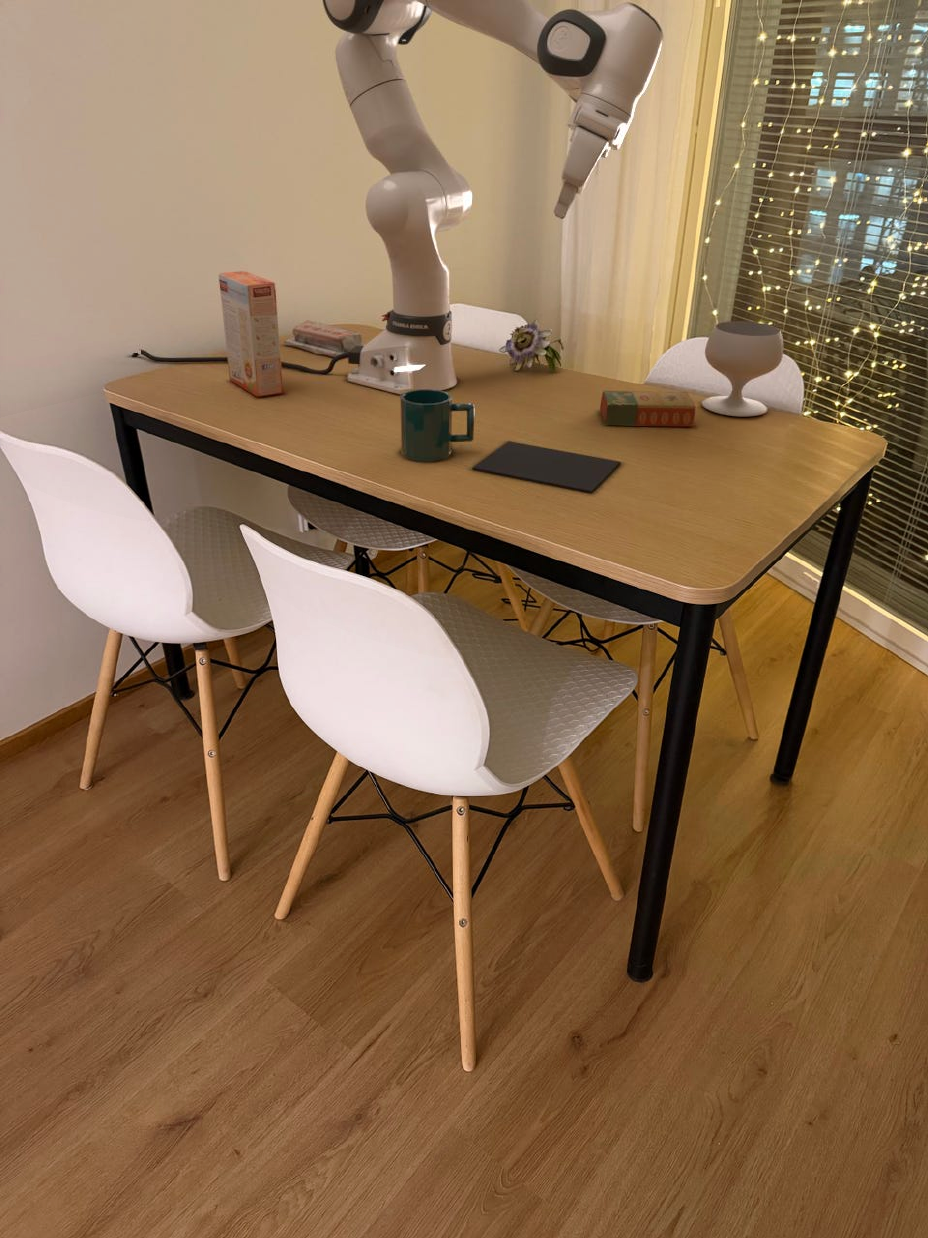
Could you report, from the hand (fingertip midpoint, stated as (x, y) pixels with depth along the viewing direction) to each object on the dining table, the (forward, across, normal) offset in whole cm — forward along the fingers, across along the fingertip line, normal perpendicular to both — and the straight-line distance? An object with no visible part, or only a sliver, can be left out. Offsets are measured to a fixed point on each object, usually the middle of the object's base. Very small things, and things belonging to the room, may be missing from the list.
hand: (558, 216), depth 145 cm
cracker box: (+51, -20, -42) cm, 69 cm away
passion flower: (+28, -44, +7) cm, 52 cm away
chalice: (+17, -22, +45) cm, 53 cm away
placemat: (+34, +14, +15) cm, 40 cm away
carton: (+24, -12, +29) cm, 40 cm away
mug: (+41, +11, -3) cm, 42 cm away
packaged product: (+45, -51, -38) cm, 78 cm away
